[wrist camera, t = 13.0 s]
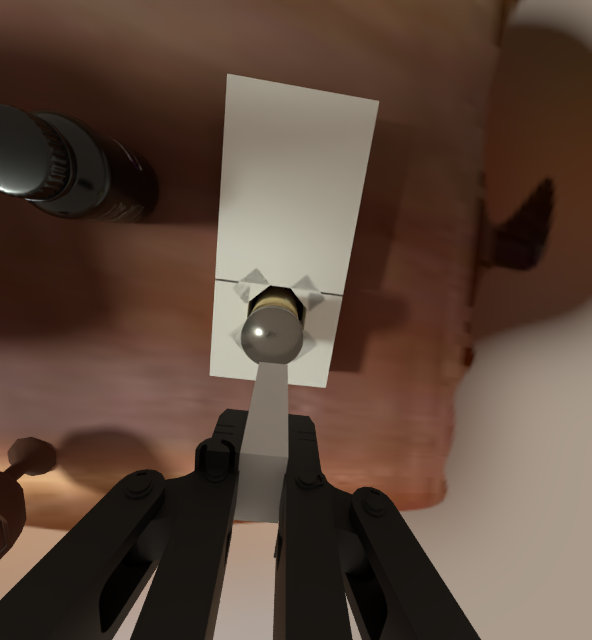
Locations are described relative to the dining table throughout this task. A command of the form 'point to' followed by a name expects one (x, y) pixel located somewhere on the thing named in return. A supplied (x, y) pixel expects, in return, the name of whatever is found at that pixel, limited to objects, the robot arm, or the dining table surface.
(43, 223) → the dining table surface
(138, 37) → the dining table surface
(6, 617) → the robot arm
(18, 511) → the ice cream bowl
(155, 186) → the supplement bottle
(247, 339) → the gold grey cylinder
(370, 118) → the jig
